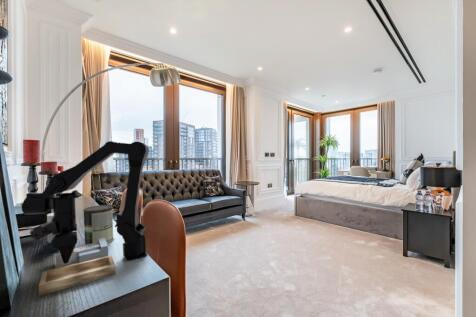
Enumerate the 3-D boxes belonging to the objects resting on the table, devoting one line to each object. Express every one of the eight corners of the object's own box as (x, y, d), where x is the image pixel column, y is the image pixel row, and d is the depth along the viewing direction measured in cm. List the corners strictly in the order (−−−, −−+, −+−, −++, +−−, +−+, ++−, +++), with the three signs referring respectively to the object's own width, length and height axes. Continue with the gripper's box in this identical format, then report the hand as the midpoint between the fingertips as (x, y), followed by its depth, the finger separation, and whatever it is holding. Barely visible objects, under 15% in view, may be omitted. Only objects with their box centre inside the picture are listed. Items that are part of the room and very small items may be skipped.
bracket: (105, 249, 86) (104, 237, 86) (108, 258, 77) (107, 245, 77) (79, 255, 81) (78, 242, 81) (79, 266, 73) (79, 251, 73)
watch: (62, 245, 91) (61, 217, 91) (62, 251, 85) (61, 222, 85) (43, 249, 88) (42, 220, 88) (42, 256, 81) (41, 225, 81)
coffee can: (78, 247, 89) (77, 211, 89) (93, 238, 99) (92, 205, 99) (106, 245, 89) (105, 209, 89) (118, 236, 100) (117, 204, 100)
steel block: (97, 254, 82) (97, 243, 82) (100, 257, 79) (99, 246, 79) (54, 265, 74) (54, 253, 74) (55, 269, 71) (55, 257, 71)
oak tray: (111, 263, 74) (111, 255, 74) (115, 274, 67) (115, 265, 67) (43, 280, 64) (42, 271, 64) (39, 296, 57) (38, 285, 57)
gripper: (36, 210, 78) (37, 256, 78) (26, 222, 63) (28, 279, 63) (76, 206, 84) (77, 248, 84) (76, 216, 69) (78, 267, 69)
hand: (66, 259), depth 75 cm, fingers open, 6 cm apart
